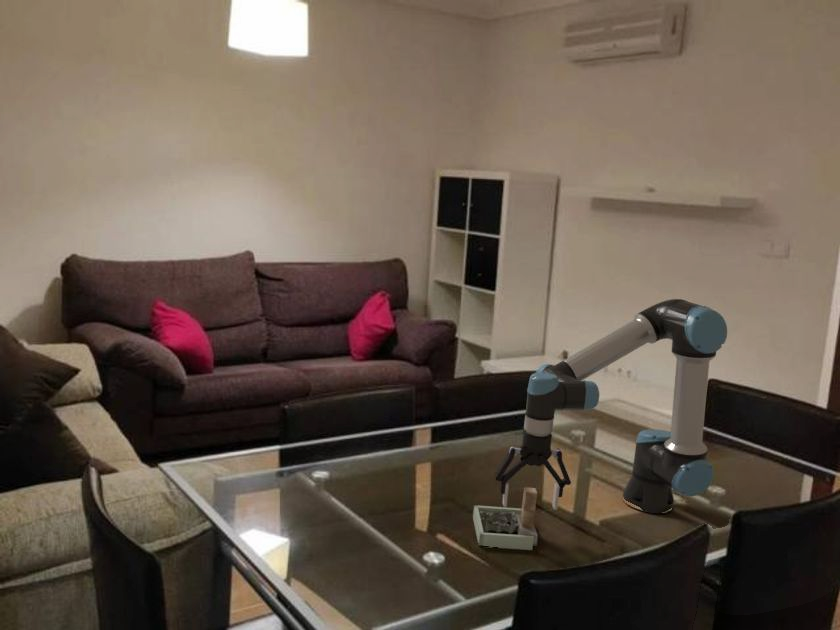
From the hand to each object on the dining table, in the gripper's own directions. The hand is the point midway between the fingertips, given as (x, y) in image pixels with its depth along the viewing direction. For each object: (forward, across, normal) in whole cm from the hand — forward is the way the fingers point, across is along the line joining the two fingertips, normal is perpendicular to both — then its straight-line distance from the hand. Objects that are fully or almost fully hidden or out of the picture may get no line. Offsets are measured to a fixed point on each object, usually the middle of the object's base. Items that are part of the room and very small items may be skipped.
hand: (529, 506), depth 209 cm
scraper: (+8, 0, 0) cm, 8 cm away
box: (+8, +6, 0) cm, 10 cm away
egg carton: (+9, +8, -4) cm, 12 cm away
